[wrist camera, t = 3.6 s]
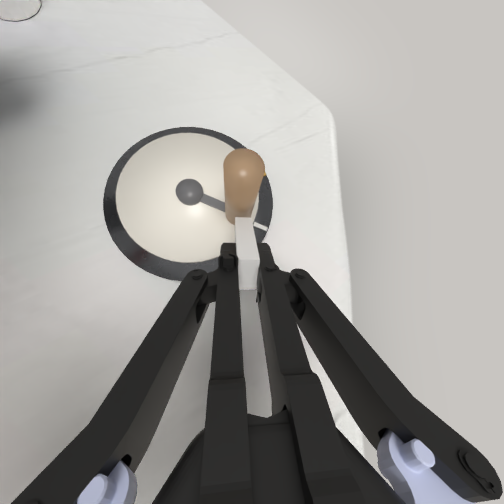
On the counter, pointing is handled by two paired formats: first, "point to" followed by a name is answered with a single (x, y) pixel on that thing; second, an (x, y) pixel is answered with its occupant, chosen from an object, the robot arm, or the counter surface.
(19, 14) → the white cup
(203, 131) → the dial base
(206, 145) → the dial
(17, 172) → the counter surface
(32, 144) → the counter surface
